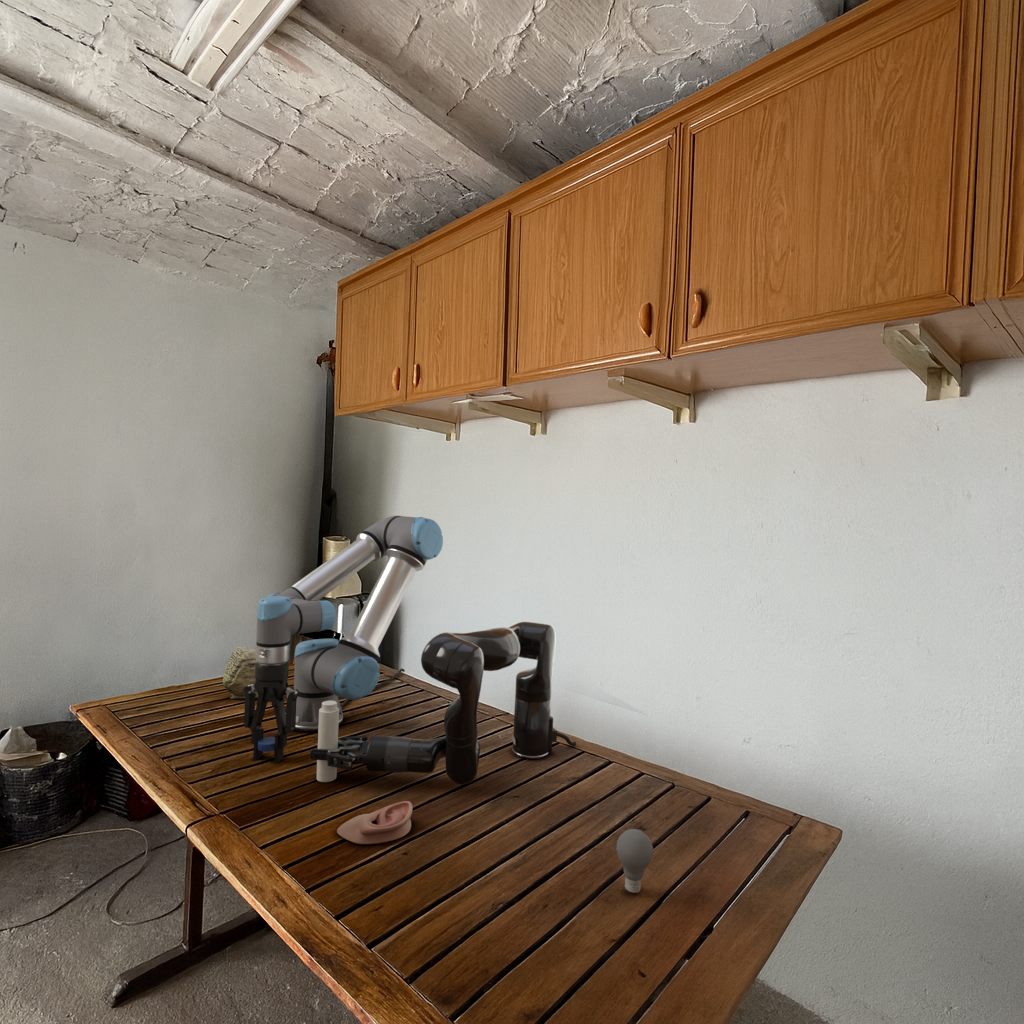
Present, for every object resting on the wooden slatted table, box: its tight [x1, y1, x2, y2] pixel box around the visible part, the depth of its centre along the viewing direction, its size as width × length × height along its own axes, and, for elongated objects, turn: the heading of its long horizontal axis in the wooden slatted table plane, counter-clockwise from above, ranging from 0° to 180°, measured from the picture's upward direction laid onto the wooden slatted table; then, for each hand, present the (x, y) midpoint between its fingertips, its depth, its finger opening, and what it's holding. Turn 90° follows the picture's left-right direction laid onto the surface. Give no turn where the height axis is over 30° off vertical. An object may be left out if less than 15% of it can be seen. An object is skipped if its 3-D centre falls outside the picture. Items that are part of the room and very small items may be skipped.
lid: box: [257, 736, 275, 753], centre depth 151 cm, size 5×5×2 cm
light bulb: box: [615, 828, 654, 894], centre depth 106 cm, size 6×6×10 cm
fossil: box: [222, 646, 258, 699], centre depth 198 cm, size 9×18×15 cm, turn 132°
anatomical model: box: [336, 800, 414, 845], centre depth 121 cm, size 13×4×12 cm
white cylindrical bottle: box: [316, 701, 340, 783], centre depth 143 cm, size 4×4×17 cm
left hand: (268, 758), depth 151 cm, fingers closed on lid, 5 cm apart
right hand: (315, 749), depth 143 cm, fingers closed on white cylindrical bottle, 4 cm apart
